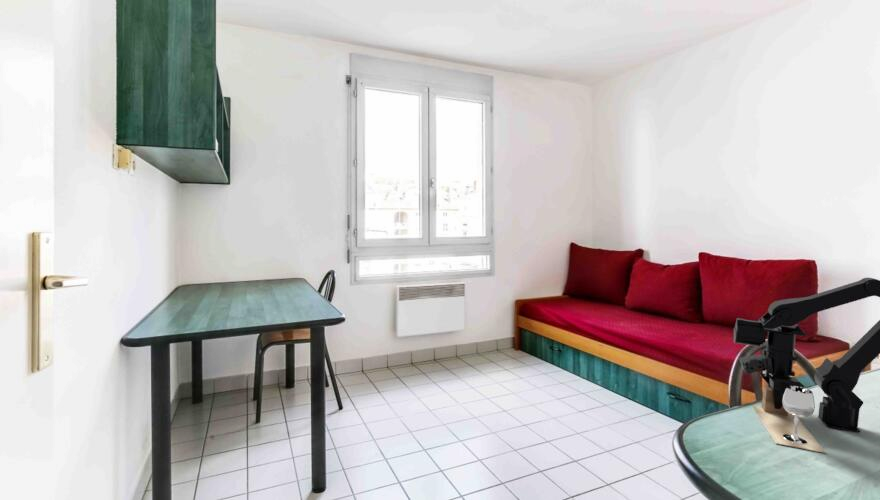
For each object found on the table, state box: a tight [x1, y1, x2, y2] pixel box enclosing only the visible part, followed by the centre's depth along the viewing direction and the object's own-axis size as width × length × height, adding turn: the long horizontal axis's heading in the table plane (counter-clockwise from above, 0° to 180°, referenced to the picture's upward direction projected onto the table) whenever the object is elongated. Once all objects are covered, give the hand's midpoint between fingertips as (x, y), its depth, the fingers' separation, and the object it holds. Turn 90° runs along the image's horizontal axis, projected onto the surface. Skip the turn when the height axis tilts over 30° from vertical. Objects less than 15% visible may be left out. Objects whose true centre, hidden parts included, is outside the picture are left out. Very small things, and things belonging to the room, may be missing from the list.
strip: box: [752, 385, 827, 454], centre depth 107 cm, size 9×22×6 cm, turn 156°
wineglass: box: [782, 386, 815, 444], centre depth 101 cm, size 6×6×12 cm
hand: (775, 406), depth 115 cm, fingers closed on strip, 3 cm apart
